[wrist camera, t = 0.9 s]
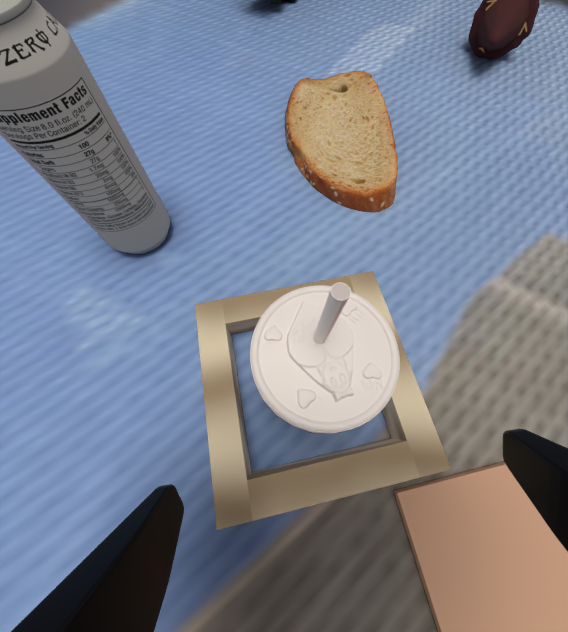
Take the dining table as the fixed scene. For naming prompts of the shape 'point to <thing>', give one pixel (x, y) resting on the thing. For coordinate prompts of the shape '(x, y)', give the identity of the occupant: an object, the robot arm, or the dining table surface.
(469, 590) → the coaster
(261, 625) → the dining table surface
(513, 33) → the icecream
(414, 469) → the holder
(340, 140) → the slice of bread
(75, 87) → the energy drink can
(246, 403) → the dining table surface
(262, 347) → the smoothie
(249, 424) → the dining table surface
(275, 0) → the toy figurine
